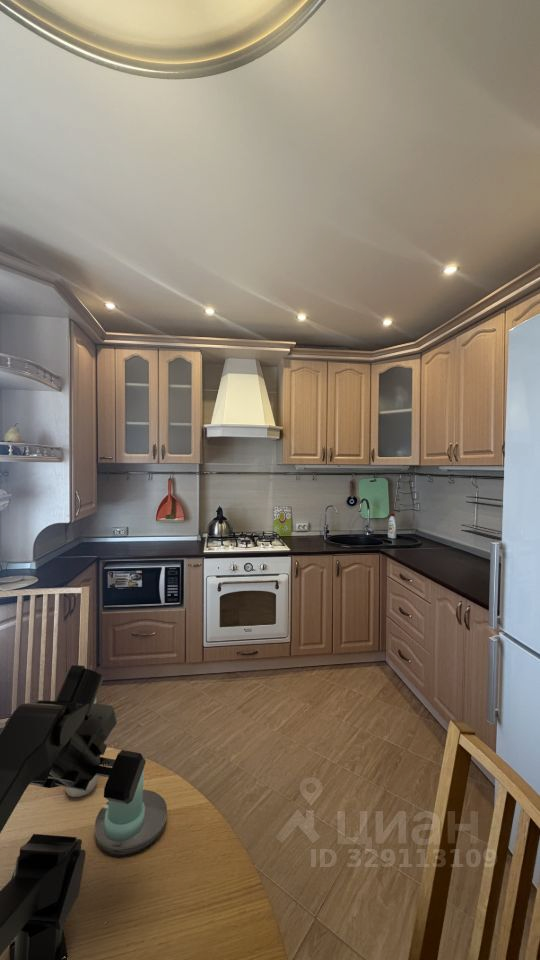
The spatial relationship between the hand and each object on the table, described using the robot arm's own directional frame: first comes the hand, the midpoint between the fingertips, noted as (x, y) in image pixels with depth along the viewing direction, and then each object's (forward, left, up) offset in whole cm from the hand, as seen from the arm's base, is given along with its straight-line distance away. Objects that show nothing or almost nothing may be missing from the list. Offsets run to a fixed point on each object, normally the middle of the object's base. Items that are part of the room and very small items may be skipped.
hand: (103, 783), depth 69 cm
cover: (+3, -5, -11) cm, 13 cm away
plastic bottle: (+20, -1, -14) cm, 24 cm away
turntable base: (+5, -7, -14) cm, 16 cm away
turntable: (+5, -7, -12) cm, 15 cm away
